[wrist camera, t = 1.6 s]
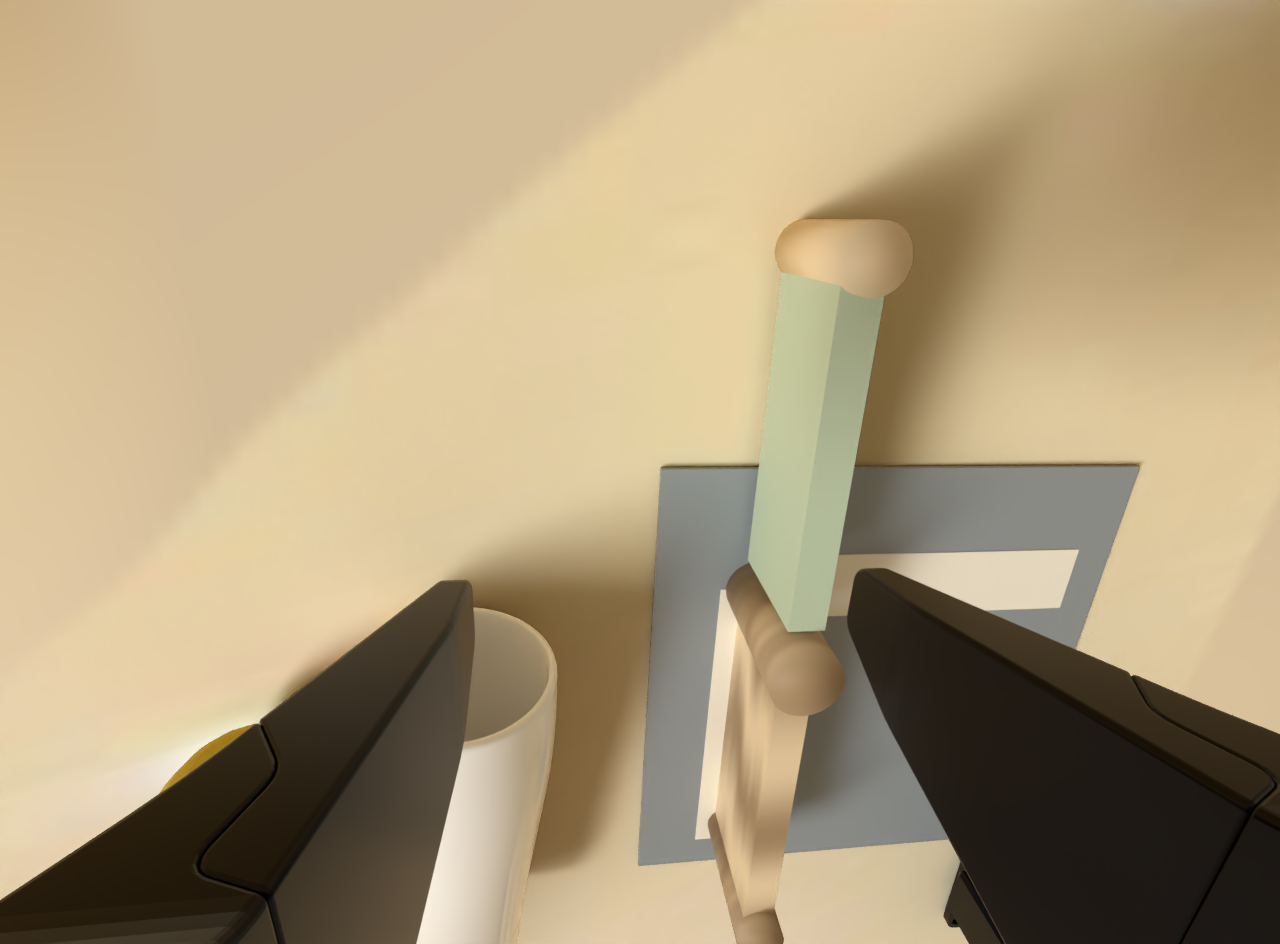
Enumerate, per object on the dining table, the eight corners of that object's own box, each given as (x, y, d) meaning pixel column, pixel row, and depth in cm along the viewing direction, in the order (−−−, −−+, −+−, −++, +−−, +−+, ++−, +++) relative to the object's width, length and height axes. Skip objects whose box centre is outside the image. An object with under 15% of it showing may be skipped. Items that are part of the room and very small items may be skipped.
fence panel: (786, 558, 24) (840, 640, 19) (739, 560, 24) (783, 642, 19) (835, 220, 20) (920, 220, 15) (778, 217, 19) (847, 217, 15)
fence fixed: (727, 559, 24) (775, 655, 19) (787, 557, 25) (851, 651, 19) (698, 832, 30) (729, 967, 24) (748, 828, 30) (789, 961, 25)
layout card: (1135, 465, 25) (1140, 467, 25) (1006, 830, 32) (1010, 834, 32) (660, 467, 23) (661, 470, 22) (638, 862, 30) (638, 866, 30)
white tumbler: (528, 856, 30) (549, 599, 24) (542, 1023, 24) (574, 740, 18) (377, 878, 29) (358, 607, 23) (352, 1064, 23) (318, 766, 17)
